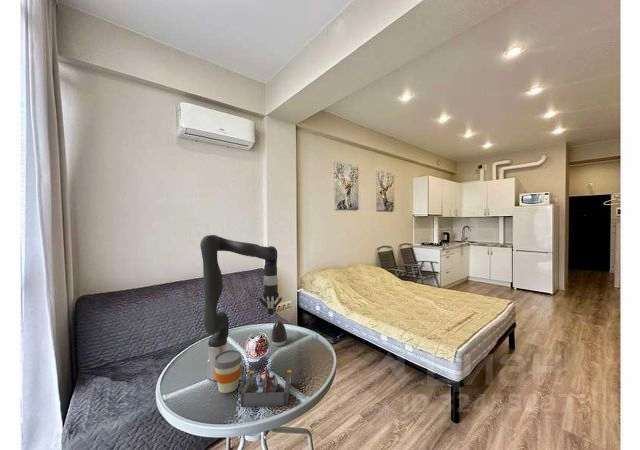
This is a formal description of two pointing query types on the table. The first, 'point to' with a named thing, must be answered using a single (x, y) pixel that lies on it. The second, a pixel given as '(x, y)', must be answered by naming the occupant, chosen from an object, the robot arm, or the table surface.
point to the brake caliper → (266, 383)
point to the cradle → (265, 394)
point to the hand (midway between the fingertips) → (271, 314)
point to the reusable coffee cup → (227, 370)
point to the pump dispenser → (278, 334)
